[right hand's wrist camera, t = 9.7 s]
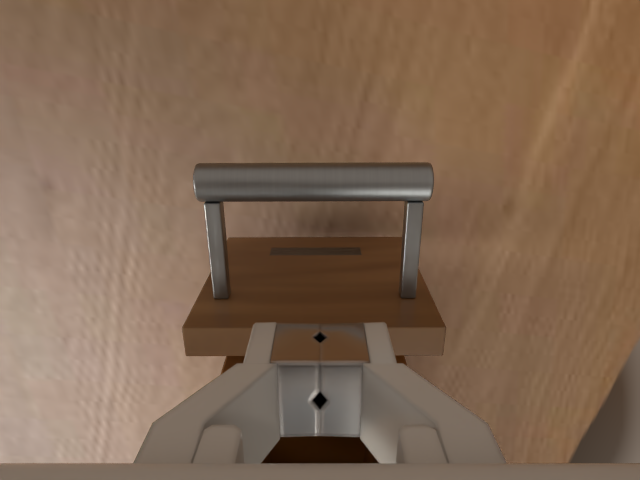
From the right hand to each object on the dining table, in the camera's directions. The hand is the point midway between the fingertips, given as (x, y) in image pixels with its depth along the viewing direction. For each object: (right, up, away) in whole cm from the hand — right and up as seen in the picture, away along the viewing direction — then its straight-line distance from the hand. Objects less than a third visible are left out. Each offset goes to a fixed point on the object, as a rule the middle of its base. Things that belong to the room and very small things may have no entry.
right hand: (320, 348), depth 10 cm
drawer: (0, -2, +15) cm, 15 cm away
